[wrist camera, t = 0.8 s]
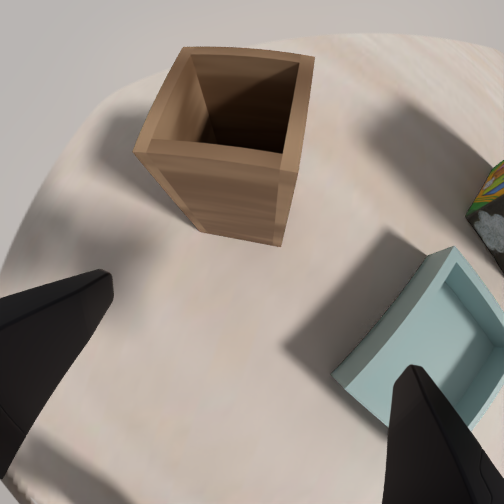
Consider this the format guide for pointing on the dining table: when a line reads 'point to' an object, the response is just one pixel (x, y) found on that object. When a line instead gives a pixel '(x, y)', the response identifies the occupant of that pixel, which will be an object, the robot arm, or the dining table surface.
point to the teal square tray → (433, 341)
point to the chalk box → (491, 213)
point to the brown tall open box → (230, 138)
